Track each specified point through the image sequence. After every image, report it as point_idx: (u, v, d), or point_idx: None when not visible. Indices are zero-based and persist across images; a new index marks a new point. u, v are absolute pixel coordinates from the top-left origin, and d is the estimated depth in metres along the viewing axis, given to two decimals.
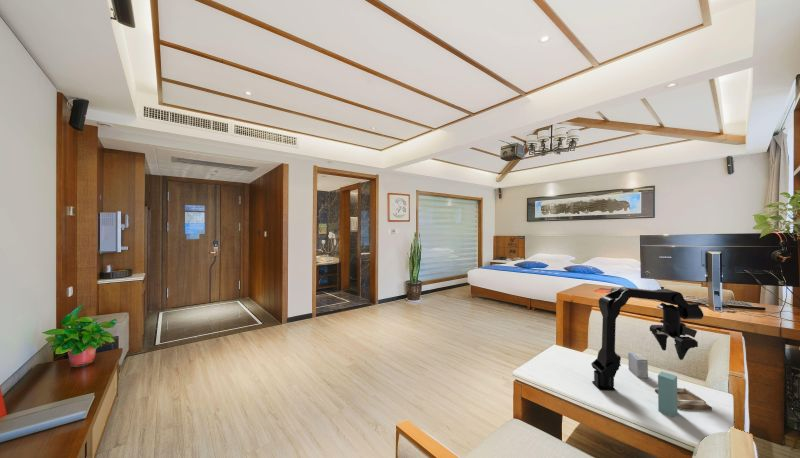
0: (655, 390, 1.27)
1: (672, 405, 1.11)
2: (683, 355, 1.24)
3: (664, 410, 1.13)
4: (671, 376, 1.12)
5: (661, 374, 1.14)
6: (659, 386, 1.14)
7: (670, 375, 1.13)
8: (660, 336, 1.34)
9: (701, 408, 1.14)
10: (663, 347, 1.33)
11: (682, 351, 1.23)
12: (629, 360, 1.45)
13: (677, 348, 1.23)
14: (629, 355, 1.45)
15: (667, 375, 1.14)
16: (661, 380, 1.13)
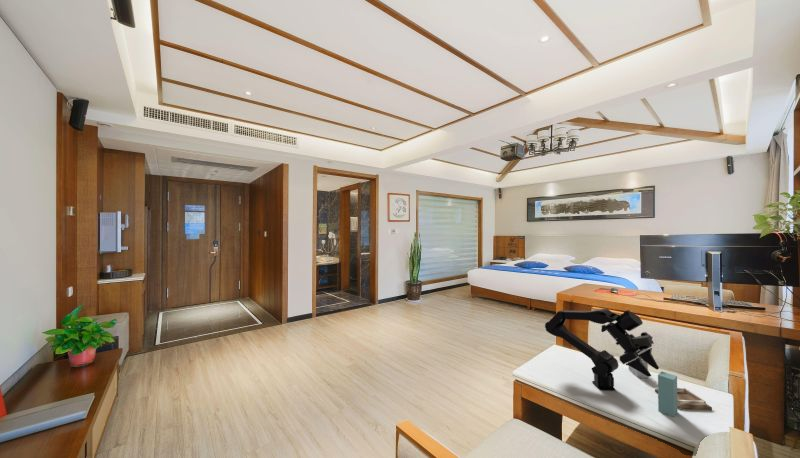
0: (655, 390, 1.27)
1: (672, 405, 1.11)
2: (646, 371, 1.15)
3: (664, 410, 1.13)
4: (671, 376, 1.12)
5: (661, 374, 1.14)
6: (659, 386, 1.14)
7: (670, 375, 1.13)
8: (642, 355, 1.24)
9: (701, 408, 1.14)
10: (654, 366, 1.21)
11: (639, 367, 1.16)
12: None
13: None
14: None
15: (667, 374, 1.14)
16: (661, 380, 1.13)
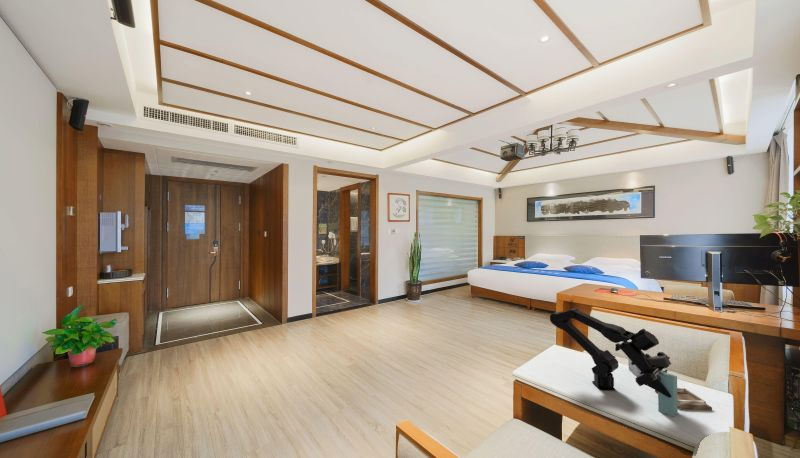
0: (655, 390, 1.27)
1: (672, 405, 1.11)
2: (666, 391, 1.12)
3: (664, 410, 1.13)
4: (671, 376, 1.12)
5: (661, 374, 1.14)
6: None
7: (670, 375, 1.13)
8: None
9: (701, 408, 1.14)
10: None
11: (658, 387, 1.13)
12: (629, 360, 1.45)
13: None
14: None
15: (667, 374, 1.14)
16: (661, 380, 1.13)
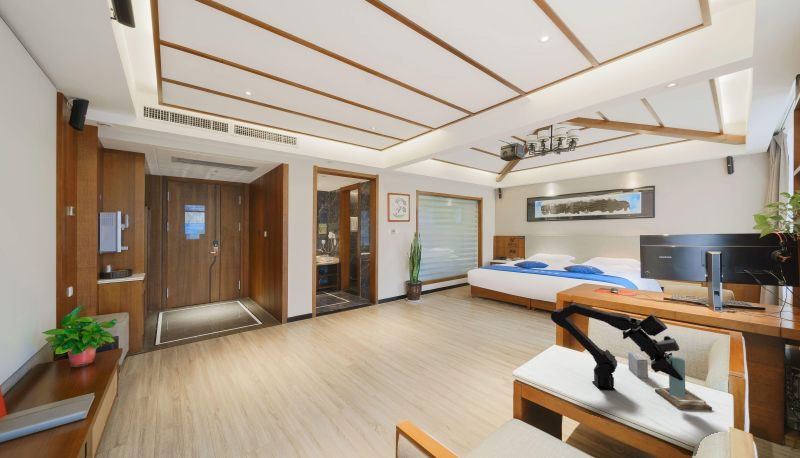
0: (655, 390, 1.27)
1: (683, 387, 1.13)
2: (678, 375, 1.13)
3: (675, 393, 1.14)
4: (681, 359, 1.15)
5: (671, 358, 1.16)
6: None
7: (679, 358, 1.16)
8: None
9: (701, 408, 1.14)
10: None
11: (671, 371, 1.14)
12: (629, 360, 1.45)
13: None
14: (629, 355, 1.45)
15: (676, 358, 1.16)
16: (673, 364, 1.15)
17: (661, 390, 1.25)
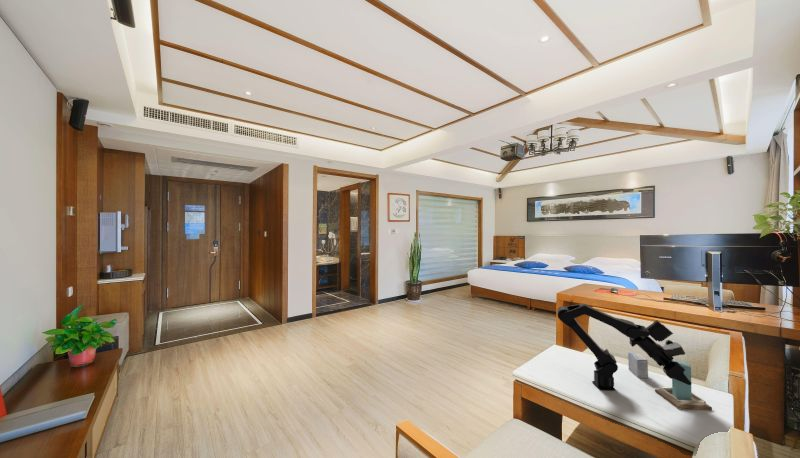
0: (655, 390, 1.27)
1: (690, 391, 1.18)
2: (688, 380, 1.16)
3: (682, 397, 1.19)
4: (685, 364, 1.20)
5: None
6: None
7: (682, 362, 1.21)
8: None
9: (701, 408, 1.14)
10: None
11: (681, 377, 1.16)
12: (629, 360, 1.45)
13: None
14: (629, 354, 1.45)
15: (680, 363, 1.21)
16: None
17: (661, 390, 1.25)
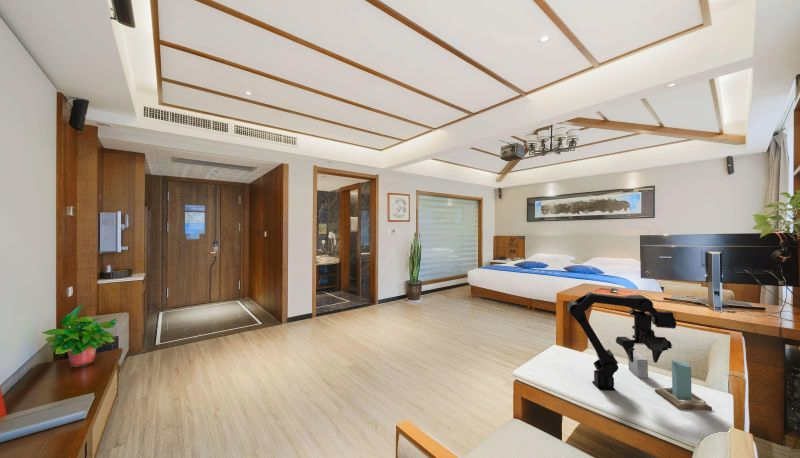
0: (655, 390, 1.27)
1: (690, 391, 1.18)
2: (631, 358, 1.26)
3: (682, 397, 1.19)
4: (685, 364, 1.20)
5: (676, 363, 1.20)
6: (677, 375, 1.19)
7: (682, 362, 1.21)
8: None
9: (701, 408, 1.14)
10: (653, 358, 1.26)
11: (628, 352, 1.27)
12: (629, 360, 1.45)
13: None
14: None
15: (680, 363, 1.21)
16: (680, 370, 1.19)
17: (661, 390, 1.25)
